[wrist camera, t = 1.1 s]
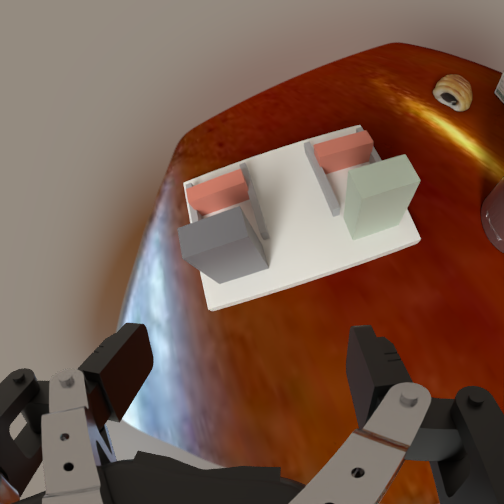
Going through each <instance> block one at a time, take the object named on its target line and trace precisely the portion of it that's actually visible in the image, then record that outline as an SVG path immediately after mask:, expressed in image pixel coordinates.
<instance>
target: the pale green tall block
mask: <svg viewBox="0 0 504 504" xmlns="http://www.w3.org/2000/svg"><path fill="white" fill-rule="evenodd" d="M419 183H420V179H419V177H418V175H417V173H416V172H415V170H414V168H413V166H412V165H411V163H410V161H409V160H408V158H407V156H406V155H405V154H404V155H401V156H397V157H393V158H390V159H386V160H383V161H379V162H376V163H372V164H369V165H365V166H362V167H359V168H355V169H352V170H349V171H348V178H347V189H346V198H345V208H344V217H343V218H344V220H345V223H346V225H347V228H348V230H349V233H350V235H351V238H352V240H356V239H359V238H362V237H365V236H368V235H371V234H374V233H377V232H379V231H382V230H385V229H388V228H391V227H394V226H397V225H399V223H400V221H401V219H402V217H403V215H404V213H405V211H406V209H407V207H408V205H409V203H410V201H411V199H412V197H413V195H414V193H415V191H416V189H417V187H418V185H419Z"/></svg>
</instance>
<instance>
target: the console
mask: <svg viewBox="0 0 504 504" xmlns="http://www.w3.org/2000/svg"><path fill="white" fill-rule="evenodd" d="M373 143H374V142H373V140H372V139H371V137H370V135H369V134H368V132H367V131H366V130H365V131H364V130H363V128H362V127H361V125H357V126H353V127H349V128H346V129H342V130H338V131H335V132H331V133H328V134H324V135H321V136H317V137H314V138H310V139H307V140H304V141H300V142H297V143H294V144H291V145H287V146H284V147H281V148H278V149H275V150H272V151H269V152H266V153H263V154H260V155H257V156H254V157H251V158H248V159H245V160H243V161H240V162H237V163H234V164H231V165H229V166H226V167H223V168H220V169H218V170H215V171H212V172H210V173H207V174H205V175H202V176H199V177H197V178H194V179H192V180H189V181H187V182H184V189H185V195H186V201H187V206H188V212H189V217H190V223H194V222H196V221H199V220H202V219H204V218H207V217H210V216H213V215H215V214H218V213H221V212H224V211H227V210H230V209H232V208H235V207H238V206H240V207H241V209H242V211H243V212H244V214H245V216H246V218H247V219H248V221H249V223H250V224H251V226H252V228H253V230H254V231H255V233H256V235H257V237H258V238H259V240H260V242H261V244H262V246H263V250H264V253H265V256H266V260H267V263H268V267H269V268H268V269H265V270H262V271H259V272H256V273H253V274H250V275H247V276H244V277H240V278H237V279H234V280H231V281H228V282H225V283H221V284H219V283H217V282H216V281H214V280H213V279H211V278H210V277H208V276H207V275H205V274H204V273H202V272H201V271H200V273H201V278H202V283H203V288H204V292H205V297H206V301H207V306H208V310H211V311H215V310H219V309H222V308H225V307H229V306H232V305H236V304H239V303H242V302H246V301H249V300H252V299H255V298H259V297H262V296H265V295H268V294H272V293H275V292H278V291H281V290H284V289H287V288H291V287H294V286H297V285H300V284H303V283H306V282H309V281H312V280H315V279H318V278H321V277H324V276H327V275H330V274H333V273H336V272H339V271H342V270H345V269H348V268H351V267H354V266H356V265H359V264H362V263H365V262H368V261H371V260H374V259H376V258H379V257H382V256H385V255H387V254H390V253H393V252H396V251H398V250H401V249H404V248H406V247H409V246H412V245H415V244H417V243H418V242H419V241H420V240H421V238H420V236H419V233H418V231H417V229H416V227H415V225H414V222H413V220H412V218H411V216H410V214H409V212H408V210H407V209H406V211H405V213H404V215H403V217H402V219H401V221H400V223H399V225H397V226H394V227H391V228H388V229H385V230H382V231H379V232H377V233H374V234H371V235H368V236H365V237H362V238H359V239H356V240H352V238H351V235H350V233H349V230H348V228H347V225H346V223H345V220H344V218H343V217H344V208H345V198H346V189H347V178H348V171H349V170H352V169H355V168H359V167H362V166H365V165H369V164H372V163H376V162H379V161H382V160H381V158H380V157H379V155H378V153H377V151H376V150H375V148H374V146H373Z"/></svg>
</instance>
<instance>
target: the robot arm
mask: <svg viewBox="0 0 504 504" xmlns="http://www.w3.org/2000/svg"><path fill="white" fill-rule="evenodd" d="M481 220H482V225H483V228H484V230H485V233H486V235H487V237H488V239H489V240H490V241H491V243H492V244H493V245H494V246H495V247H496V248H497V249H498V250H500V251H501V252H503V253H504V177H503V178H502V179H501V180H500V182H499V183H498V184H497V185H496V186H495V188H494V189H493V190H492V191H491V192H490V194H489V195H488V196H487V197H486V199H485V200H484V202H483V204H482V208H481ZM152 368H153V354H152V349H151V345H150V341H149V337H148V332H147V328H146V326H145V325H144V324H137V323H126V324H124V326H123V327H122V328H121V329H120V330H119V331H118V332H117V333H115V334H113V335H111V336H110V337H108V338H106V339H105V340H104V341H103V342H102V343H101V344H100V345H99V347H98V348H97V349H96V350H95V351H94V353H92V354H91V355H90V356H89V357H88V358H87V359H86V360H85V361H84V362H83V364H82V365H81V366H80V367H79V368H78V369H65V370H62V371H60V372H58V373H56V374H55V375H54V376H53V377H52V378H51V379H50V381H37V379H36V377H35V375H34V372H33V371H32V370H30V369H25V368H24V369H18V370H16V371H14V372H12V373H10V374H9V375H8V376H7V377H6V378H5V379H4V380H3V381H2V382H1V383H0V504H379V502H380V501H381V499H382V498H383V496H384V494H385V493H386V491H387V490H388V488H389V487H390V485H391V483H392V482H393V480H394V478H395V477H396V475H397V473H398V472H399V470H400V468H401V466H402V465H403V463H404V461H405V460H419V461H429V462H430V465H431V469H432V473H433V477H434V480H435V484H436V488H437V492H438V496H439V501H440V504H504V415H503V413H502V411H501V409H500V408H499V406H498V404H497V403H496V401H495V399H494V398H493V396H492V395H491V394H490V393H489V392H488V391H487V390H485V389H483V388H481V387H477V386H468V387H464V388H462V389H461V390H459V391H458V393H457V395H456V397H455V399H439V398H432V397H431V395H430V393H429V391H428V390H427V389H426V388H424V387H423V386H421V385H419V384H416V383H413V382H412V380H411V378H410V376H409V374H408V372H407V370H406V368H405V366H404V364H403V362H402V361H401V358H400V356H399V354H397V350H396V349H395V347H394V345H393V343H391V342H390V341H389V340H387V339H386V338H385V337H376V335H375V333H374V331H373V329H372V327H371V325H363V326H351V328H350V333H349V342H348V351H347V359H346V373H347V378H348V382H349V386H350V391H351V395H352V399H353V403H354V408H355V412H356V416H357V421H358V425H359V429H356V430H355V431H354V432H353V433H352V434H351V435H350V436H349V438H348V439H347V440H346V441H345V443H344V444H343V445H342V446H341V447H340V449H339V450H338V451H337V452H336V453H335V455H334V456H333V457H332V458H331V459H330V460H329V462H328V463H327V464H326V465H325V466H324V467H323V468H322V469H321V471H320V472H319V473H318V474H317V475H316V476H315V477H314V478H313V479H312V480H311V481H310V482H309V483H308V484H307V486H306V485H304V484H302V483H300V482H297V481H294V480H291V479H288V478H283V477H280V469H281V467H252V466H239V467H230V468H220V469H209V470H203V469H198V468H196V467H193V466H190V465H188V464H185V463H183V462H180V461H178V460H175V459H173V458H170V457H166V456H161V455H155V454H151V453H146V452H141V451H138V452H137V454H136V456H135V458H134V459H132V460H121V461H117V459H116V456H115V453H114V450H113V446H112V443H111V439H110V436H109V433H108V429H107V426H106V424H105V423H106V422H107V420H111V421H115V422H120V421H121V419H122V418H123V416H124V414H125V413H126V411H127V409H128V408H129V406H130V404H131V403H132V401H133V400H134V398H135V396H136V395H137V393H138V391H139V390H140V388H141V386H142V385H143V383H144V382H145V380H146V378H147V377H148V375H149V373H150V372H151V370H152ZM20 412H21V413H22V415H23V417H24V418H25V420H26V422H27V424H26V426H25V427H24V428H23V429H22V431H21V432H20V433H19V435H18V436H17V437H16V438H15V440H13V439H12V437H11V436H10V433H9V428H10V424H11V423H12V422H13V421H14V419H15V418H16V417H17V416H18V415H19V413H20ZM42 461H43V468H44V478H45V487H46V491H44V492H41V493H39V494H36V495H34V496H31V497H28V498H26V499H22V500H20V497H21V495H22V494H23V492H24V490H25V488H26V487H27V485H28V484H29V482H30V480H31V478H32V477H33V475H34V474H35V472H36V470H37V469H38V467H39V466H40V464H41V462H42Z"/></svg>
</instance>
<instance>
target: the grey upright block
mask: <svg viewBox="0 0 504 504" xmlns="http://www.w3.org/2000/svg"><path fill="white" fill-rule="evenodd" d="M178 235H179V241H180V247H181V252H182V258H183V259H184V260H185V261H187V262H188V263H189V264H191V265H192V266H194V267H195V268H197V269H198V270H200V271H201V272H202V273H204V274H205V275H207V276H208V277H210V278H211V279H213V280H214V281H216V282H217V283H219V284H221V283H225V282H228V281H231V280H234V279H237V278H240V277H244V276H247V275H250V274H253V273H256V272H259V271H262V270H265V269H268V268H269V267H268V263H267V260H266V256H265V253H264V250H263V246H262V244H261V242H260V240H259V238H258V237H257V235H256V233H255V231H254V230H253V228H252V226H251V224H250V223H249V221H248V219H247V218H246V216H245V214H244V212H243V211H242V209H241V207H240V206H238V207H235V208H232V209H230V210H227V211H224V212H221V213H218V214H215V215H213V216H210V217H207V218H204V219H202V220H199V221H196V222H194V223H191V224H188V225H186V226H183V227H180V228H178Z"/></svg>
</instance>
